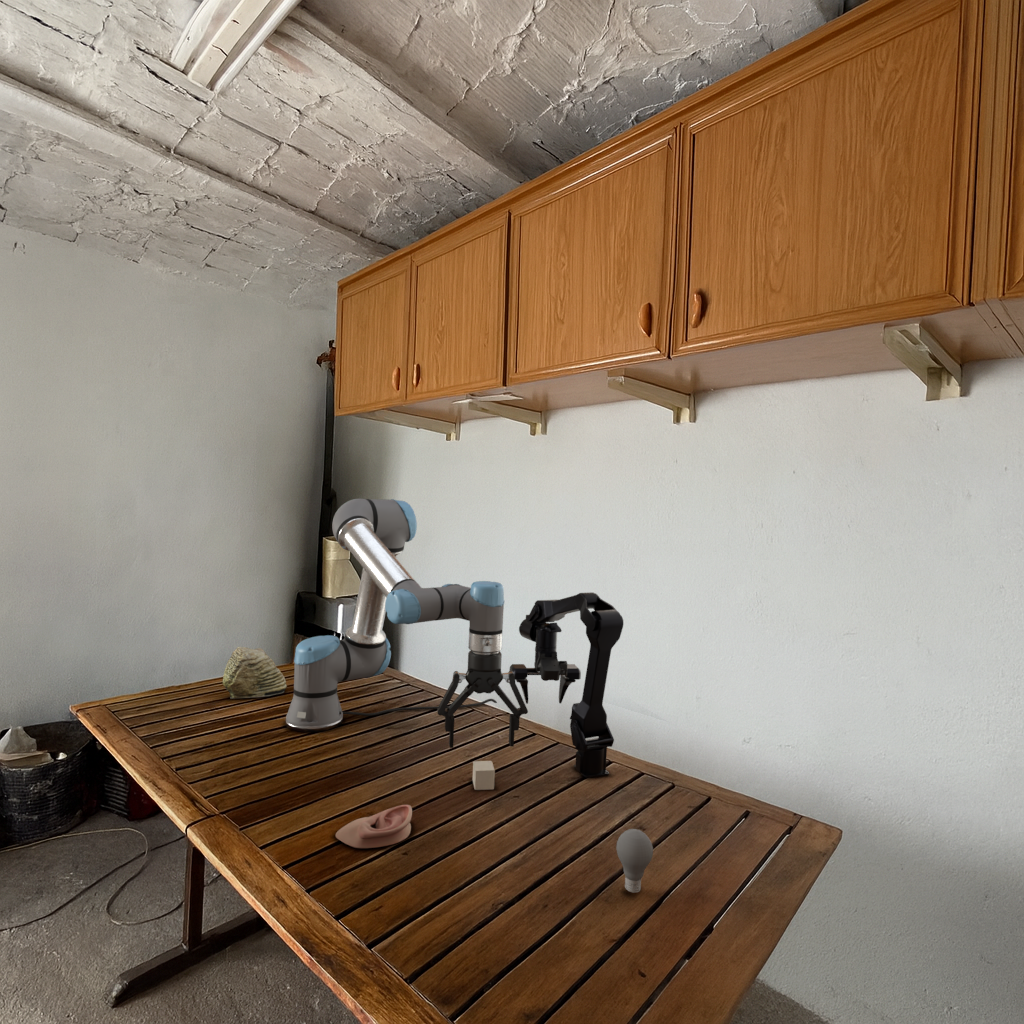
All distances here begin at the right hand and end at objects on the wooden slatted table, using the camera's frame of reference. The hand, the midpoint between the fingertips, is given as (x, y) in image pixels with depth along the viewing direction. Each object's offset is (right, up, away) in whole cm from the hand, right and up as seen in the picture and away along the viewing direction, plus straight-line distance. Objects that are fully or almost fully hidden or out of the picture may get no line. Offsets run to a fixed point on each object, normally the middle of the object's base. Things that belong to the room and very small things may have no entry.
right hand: (543, 703), depth 172 cm
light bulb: (+12, -11, -66) cm, 68 cm away
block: (-15, -10, -29) cm, 34 cm away
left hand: (-15, -1, -29) cm, 33 cm away
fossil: (-89, -5, +26) cm, 93 cm away
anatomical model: (-35, -9, -52) cm, 63 cm away
